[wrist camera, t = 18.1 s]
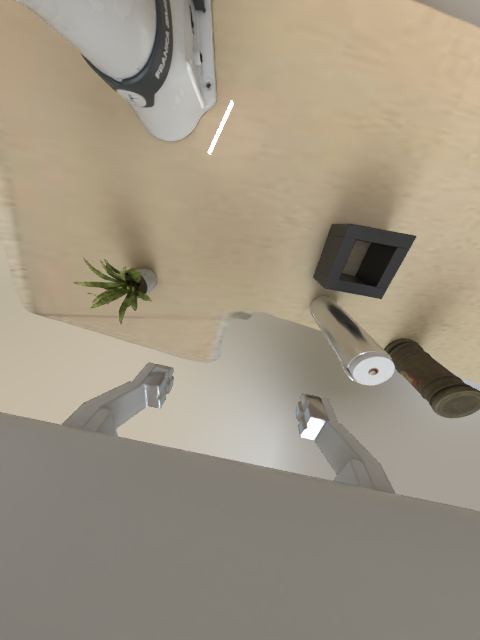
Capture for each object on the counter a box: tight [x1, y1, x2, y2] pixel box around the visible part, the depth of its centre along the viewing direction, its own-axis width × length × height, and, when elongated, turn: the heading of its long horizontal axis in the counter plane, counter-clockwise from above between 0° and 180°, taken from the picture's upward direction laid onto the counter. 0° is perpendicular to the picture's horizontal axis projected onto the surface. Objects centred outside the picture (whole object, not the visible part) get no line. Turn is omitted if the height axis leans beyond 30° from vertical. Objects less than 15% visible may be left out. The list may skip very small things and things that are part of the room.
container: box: [385, 339, 480, 418], centre depth 45 cm, size 9×9×18 cm
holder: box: [313, 224, 416, 299], centre depth 39 cm, size 12×12×9 cm
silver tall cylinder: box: [310, 295, 395, 385], centre depth 38 cm, size 6×6×25 cm
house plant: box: [75, 259, 157, 324], centre depth 42 cm, size 14×14×16 cm
